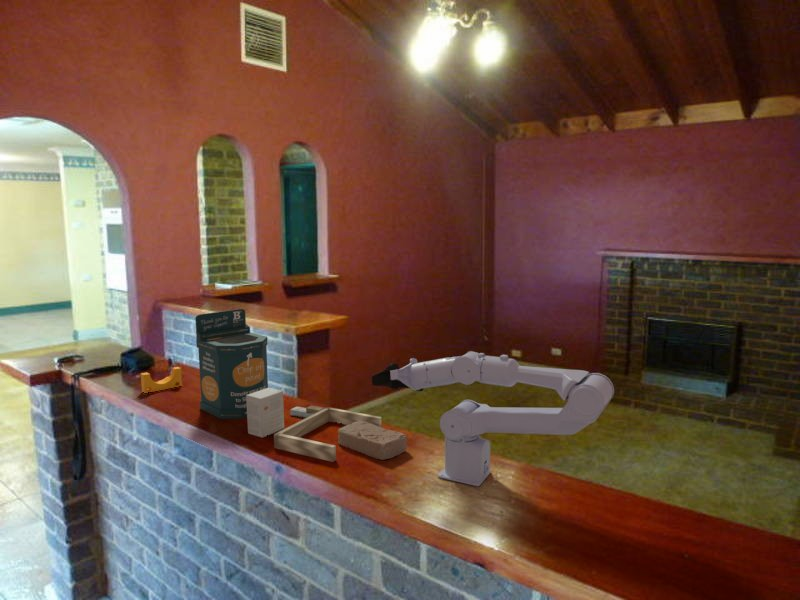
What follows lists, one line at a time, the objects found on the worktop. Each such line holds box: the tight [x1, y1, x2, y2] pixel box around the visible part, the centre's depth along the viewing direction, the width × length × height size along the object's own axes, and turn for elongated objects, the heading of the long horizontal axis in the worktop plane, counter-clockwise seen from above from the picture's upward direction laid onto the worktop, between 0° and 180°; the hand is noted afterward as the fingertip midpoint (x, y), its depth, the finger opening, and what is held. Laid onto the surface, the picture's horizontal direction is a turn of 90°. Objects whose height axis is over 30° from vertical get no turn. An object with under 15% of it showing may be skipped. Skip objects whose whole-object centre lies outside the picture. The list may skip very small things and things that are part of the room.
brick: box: [337, 421, 408, 461], centre depth 139 cm, size 17×8×5 cm, turn 48°
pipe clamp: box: [140, 366, 183, 394], centre depth 187 cm, size 12×4×6 cm, turn 133°
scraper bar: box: [289, 405, 325, 419], centre depth 161 cm, size 10×3×3 cm, turn 63°
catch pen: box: [273, 406, 383, 463], centre depth 145 cm, size 17×22×4 cm
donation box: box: [195, 308, 269, 420], centre depth 166 cm, size 16×16×28 cm
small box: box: [246, 387, 285, 439], centre depth 150 cm, size 8×6×10 cm
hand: (382, 381), depth 133 cm, fingers open, 7 cm apart
